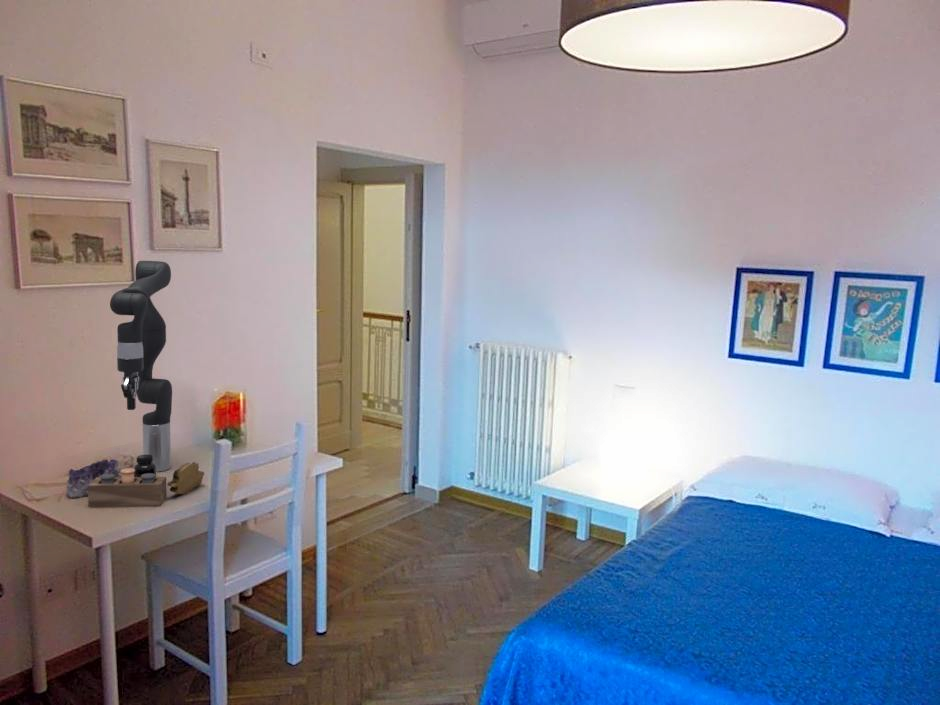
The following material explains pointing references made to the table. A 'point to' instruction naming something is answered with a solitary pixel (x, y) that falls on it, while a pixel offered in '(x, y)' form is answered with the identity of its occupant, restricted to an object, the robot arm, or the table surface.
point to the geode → (89, 477)
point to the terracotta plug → (127, 475)
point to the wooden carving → (186, 478)
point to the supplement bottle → (144, 465)
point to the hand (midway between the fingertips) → (131, 409)
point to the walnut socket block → (127, 493)
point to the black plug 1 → (107, 478)
